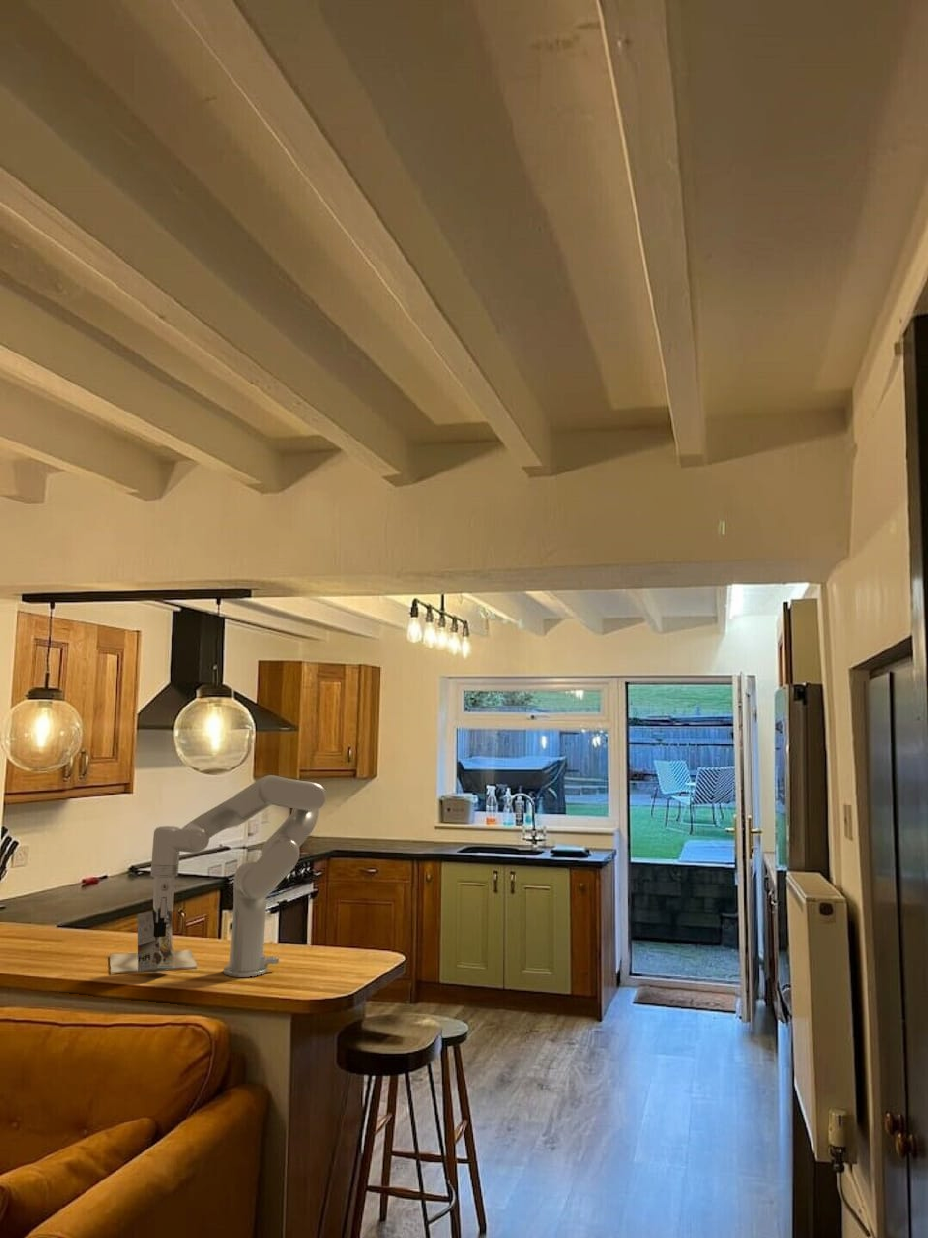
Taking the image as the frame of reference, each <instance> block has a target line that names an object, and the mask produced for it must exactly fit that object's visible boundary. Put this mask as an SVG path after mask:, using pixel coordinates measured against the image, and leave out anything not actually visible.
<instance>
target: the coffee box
mask: <svg viewBox="0 0 928 1238" xmlns="http://www.w3.org/2000/svg"><path fill="white" fill-rule="evenodd" d="M155 913H156V912H155V911H154V909H152V910H147V911H144V912H140V913H137V953H138V972H140V973H156V972H164V971H163V970H168V969H173V951H174V945H173V944H174V942H173V941H174V940H173V937H174V936H173V911H172V912H170V911H169V910H167V916H166V935H165V937H154V936H153V932H154V922H156V921H155ZM168 971H169V970H168Z"/></svg>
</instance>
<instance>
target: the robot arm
mask: <svg viewBox="0 0 928 1238" xmlns="http://www.w3.org/2000/svg"><path fill="white" fill-rule="evenodd" d="M326 799H327V793H326V790H325V788H324V787H323V786H322V785H321V784H320V783H317V782H312V781H309V780H305V781H303V780H300V779H291V778H289V777H282V776H279V775H273V774H269V775H265V776H263V777H261V778H259V779H257V780H256V781H254V782H253V783H252V784H250V785H249V786H246V787H245V788H244V789H243V790H240V791H239V792H237V793H236V794H235V795H233V796H232V797H229V798H228V799H227V800H225V801H222V802H221V803H219V804H218V805H216V806H214V807H212V808H211V809H209V810H207V811H206V812H203V813H202V814H200V815H199V816H197V817H196V818H194V819H193V820H191V821H189V822H187V824H185V825H184V826H183V827H181V828H179V826H178V827H177V826H169V825H167V826H163V825H162V826H157V827H156V828H154V831H153V839H152V850H151V864H150V872H149V873H150V874H149V875H150V877H153V878H154V880H153V890H152V893H153V894H152V908H153V910H154V911H155V912H156V913H155V921H156V922H154V932H153V936H154V937H165V935H166V916H167V911H169V912H172V913H173V912H174V895H175V894H174V893H175V877H177V876H179V863H180V852H181V853H190V854H197V853H201V852H202V851H204V850H205V849H207V847H208V845H209V842H210V839H211V838H212V837H214V836H215V835H217V834H219V833H221V832H223V831H225V830H227V829H229V828H233V827H237V826H239V825H242V824H244V823H246V822H248V821H249V820H250V819H252V818H254V817H255V816H256V815H258V814H259V813H260V812H262V811H264V810H266V809H268V808H269V807H270V806H272V805H274V806H277V807H282V808H287V809H288V808H289V809H292V810H291V813H290V814H289V816H288V817H287V818H286V820H285V821H284V822H283V823H282V824H281V825H280V827H278V828H277V830H276V831H275V832H274V833H273V834H272V835H271V836H269V837H268V839H266V841H265V842H264V843H263V845H262V848H261V856H260V857H259V859H257V861H254V860H253V861H251V860H250V861H246V862H244V863H241V864H240V865H239V866H238V867H237V869H236V870H235V873H234V876H233V882H232V888H233V889H232V891H233V896H232V897H233V901H232V902H233V905H232V906H233V907H232V920H231V921H232V922H231V933H230V934H231V936H230V950H229V951H230V952H229V953H230V954H229V964H228V965H226V966H225V967H224V968H223V974H225V975H226V976H229V977H234V978H251V977H250V976H252V977H257V975H258V976H262V975H264V974H265V973H267V972H268V968H269V967H268V966H269V965H279V963H280V958H279V957H278V956H277V957H274V956H265V954H264V947H265V944H264V943H265V926H266V914H267V913H266V912H267V910H266V909H267V896H268V895H269V894H271V893H273V891H274V890H275V889H276V888H277V887H278V885H279V884H280V883H281V882H282V881H283V880H284V879H285V878H286V877H287V875H289V874H290V872H291V871H293V869H294V868H295V866H296V865H297V863H298V861H299V859H300V847H301V845H303V844H304V842H305V841H306V840H307V839H308V837H309V836H310V835H311V834H312V832H313V831H314V829H315V827H316V825H317V823H318V820H319V819H318V818H319V813H320V809H321V808H322V807H323V805H324V804H325V802H326ZM261 974H262V975H261Z"/></svg>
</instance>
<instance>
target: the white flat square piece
mask: <svg viewBox="0 0 928 1238" xmlns="http://www.w3.org/2000/svg"><path fill="white" fill-rule="evenodd" d="M109 965H110V966H109V967H111V969H110V974H111V973H125V974H136V973H138V974H140V973H141V972H138V952H129V953H127V952H126V953H114V954H113V953H111V954H109ZM196 969H198V965H197V963H196V960H195V958H194V955H193V953H192V951H191V949H176V950H173V969H168V970H163V971H162V972H164V971H165V972H166V971H181V970H182V971H183V970H196Z"/></svg>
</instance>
